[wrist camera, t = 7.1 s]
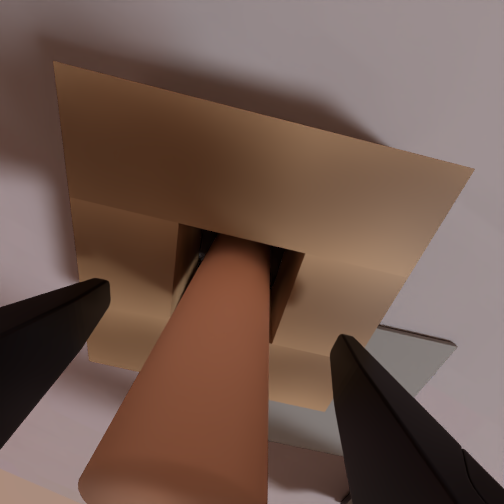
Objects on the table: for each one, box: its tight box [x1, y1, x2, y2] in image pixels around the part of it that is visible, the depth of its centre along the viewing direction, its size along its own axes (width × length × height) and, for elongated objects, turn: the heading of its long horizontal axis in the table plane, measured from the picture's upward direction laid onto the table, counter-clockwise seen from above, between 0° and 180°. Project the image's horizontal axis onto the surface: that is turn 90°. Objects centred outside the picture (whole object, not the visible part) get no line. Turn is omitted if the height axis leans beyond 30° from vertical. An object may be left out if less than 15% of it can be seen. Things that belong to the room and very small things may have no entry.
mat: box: [268, 326, 457, 457], centre depth 17 cm, size 14×10×1 cm
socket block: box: [53, 61, 475, 412], centre depth 11 cm, size 12×12×4 cm
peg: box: [78, 233, 270, 504], centre depth 8 cm, size 3×3×10 cm
